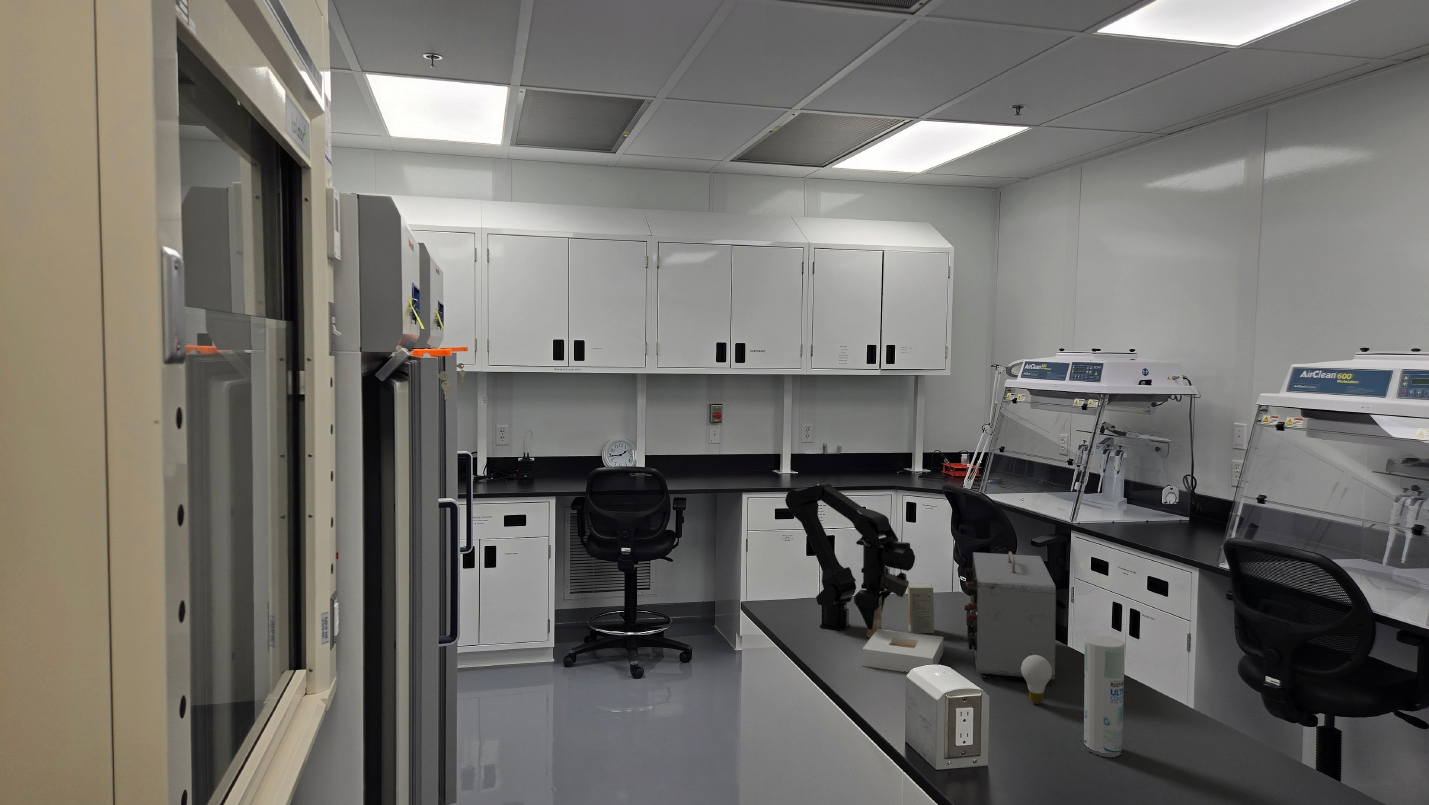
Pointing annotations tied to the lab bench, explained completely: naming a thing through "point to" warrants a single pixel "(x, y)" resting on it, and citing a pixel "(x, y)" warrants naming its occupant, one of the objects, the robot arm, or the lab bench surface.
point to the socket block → (901, 650)
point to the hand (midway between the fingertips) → (874, 623)
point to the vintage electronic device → (1010, 612)
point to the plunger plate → (904, 646)
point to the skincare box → (920, 608)
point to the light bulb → (1036, 676)
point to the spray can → (1103, 693)
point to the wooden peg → (876, 622)
